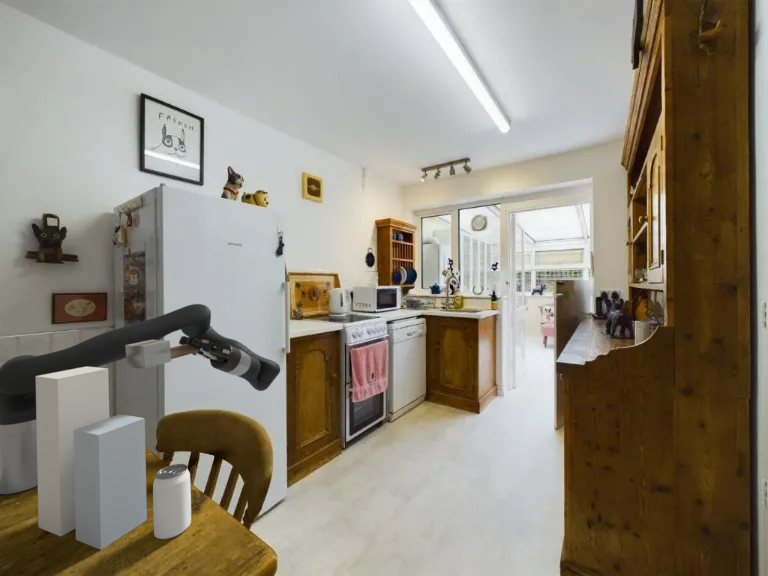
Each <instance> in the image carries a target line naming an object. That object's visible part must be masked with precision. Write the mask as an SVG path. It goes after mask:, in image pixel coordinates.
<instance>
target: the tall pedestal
mask: <svg viewBox="0 0 768 576" xmlns="http://www.w3.org/2000/svg"><path fill="white" fill-rule="evenodd" d="M109 380H110V379H109V368H106V367H105V368H104V367H81V368H76V369H71V370H66V371H60V372H55V373H50V374H45V375H40V376H36V420H37V472H38V486H37V511H38V512H37V513H38V515H37V516H38V517H37V518H38V523H37V524H38V529H42V530H44V531H46V532H49V533H52V534H54V535H56V536H59V537H63V536H65V535H66V534H68V533H70V532H72V531H73V530H76V523H75V473H74V429H77V428H80V427H83V426H86V425H89V424H92V423H95V422H98V421H101V420H104V419H107V418H110V391H109V389H110V388H109V387H110V386H109V385H110V383H109Z"/></svg>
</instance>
